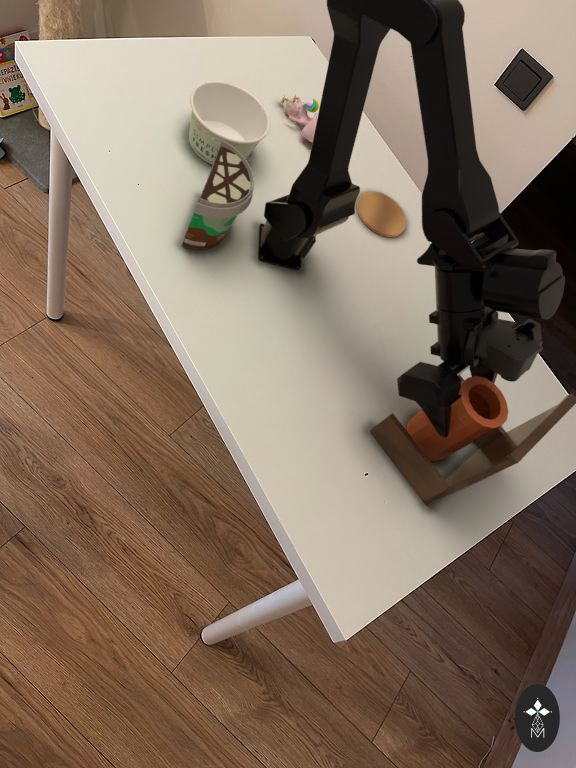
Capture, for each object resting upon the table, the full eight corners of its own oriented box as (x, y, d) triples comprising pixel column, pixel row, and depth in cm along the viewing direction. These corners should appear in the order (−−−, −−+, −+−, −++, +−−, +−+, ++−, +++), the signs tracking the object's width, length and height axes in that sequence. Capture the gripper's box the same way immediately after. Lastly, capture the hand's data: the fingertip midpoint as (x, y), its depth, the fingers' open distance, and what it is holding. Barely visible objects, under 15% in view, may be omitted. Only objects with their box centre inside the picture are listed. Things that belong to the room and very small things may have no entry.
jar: (408, 457, 78) (465, 422, 69) (403, 411, 82) (457, 371, 72) (451, 464, 81) (512, 431, 71) (445, 418, 84) (502, 381, 74)
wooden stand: (369, 430, 78) (445, 372, 64) (432, 382, 86) (513, 322, 72) (426, 505, 76) (518, 463, 62) (486, 449, 84) (578, 400, 71)
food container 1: (165, 143, 86) (175, 107, 81) (201, 104, 93) (213, 67, 88) (236, 188, 88) (251, 155, 83) (267, 146, 95) (282, 113, 89)
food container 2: (221, 271, 80) (245, 222, 72) (178, 253, 79) (197, 201, 70) (242, 209, 87) (266, 158, 78) (202, 191, 85) (223, 137, 77)
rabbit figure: (269, 112, 101) (320, 168, 96) (279, 79, 96) (333, 136, 91) (298, 110, 104) (348, 163, 99) (309, 77, 100) (362, 131, 94)
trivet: (358, 228, 94) (360, 226, 94) (355, 187, 99) (356, 185, 98) (406, 243, 98) (408, 241, 97) (401, 202, 102) (403, 200, 101)
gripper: (483, 350, 57) (483, 480, 64) (570, 284, 67) (561, 402, 75) (389, 329, 64) (399, 447, 72) (480, 273, 75) (480, 381, 82)
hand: (464, 418), depth 75 cm, fingers open, 9 cm apart
